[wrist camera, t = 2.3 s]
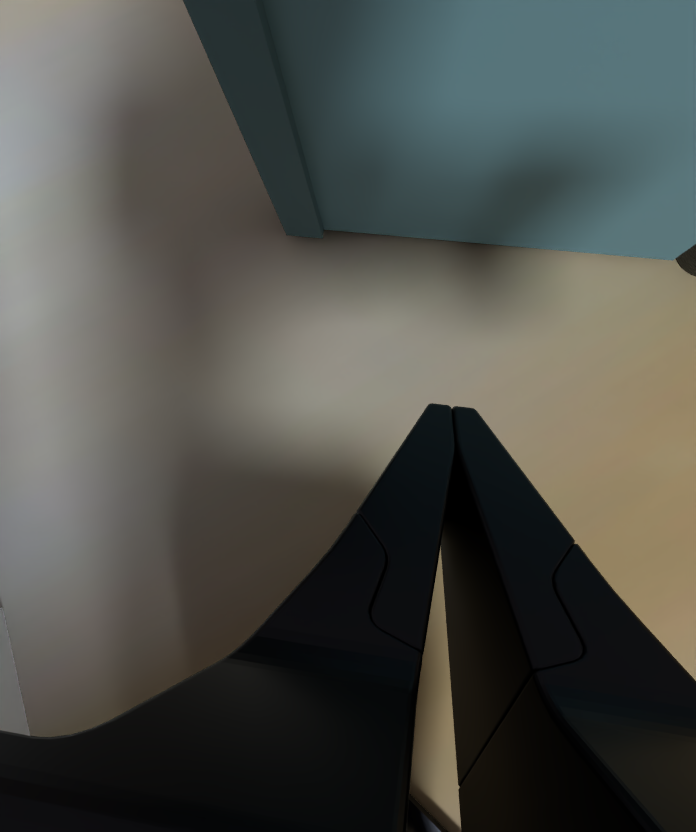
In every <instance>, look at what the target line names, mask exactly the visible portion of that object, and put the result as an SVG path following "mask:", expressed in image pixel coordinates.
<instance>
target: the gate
mask: <svg viewBox="0 0 696 832" xmlns="http://www.w3.org/2000/svg"><path fill="white" fill-rule="evenodd" d="M183 1H184V4H185V6H186V8H187V10H188V13H189V15H190V17H191V19H192V22H193V24H194V26H195V29H196V31H197V33H198V35H199V38H200V40H201V42H202V44H203V47H204V49H205V51H206V53H207V56H208V58H209V60H210V63H211V65H212V67H213V69H214V72H215V74H216V76H217V78H218V81H219V83H220V85H221V87H222V90H223V92H224V94H225V97H226V99H227V101H228V103H229V106H230V108H231V110H232V112H233V115H234V117H235V119H236V121H237V124H238V126H239V128H240V131H241V133H242V135H243V137H244V140H245V142H246V144H247V146H248V149H249V151H250V153H251V156H252V158H253V160H254V162H255V165H256V167H257V169H258V171H259V174H260V176H261V178H262V180H263V183H264V185H265V187H266V190H267V192H268V194H269V196H270V199H271V201H272V203H273V205H274V208H275V210H276V212H277V214H278V217H279V219H280V221H281V224H282V226H283V228H284V230H285V233H286V235H291V236H302V237H313V238H323V233H324V230H335V231H346V232H358V233H369V234H380V235H392V236H403V237H414V238H426V239H437V240H448V241H459V242H471V243H482V244H493V245H505V246H516V247H527V248H539V249H550V250H561V251H573V252H584V253H595V254H607V255H618V256H629V257H641V258H652V259H663V260H674V259H675V258H677V257H678V256H679V255H681V254H682V253H684V252H685V251H687V250H688V249H689V248H691V247H692V246H694V245H695V244H696V0H183Z"/></svg>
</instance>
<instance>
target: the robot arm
mask: <svg viewBox="0 0 696 832" xmlns="http://www.w3.org/2000/svg"><path fill="white" fill-rule="evenodd" d="M574 543H575V540H574V539H573V537H572V536H571V535H570V534H569V532H568V531H567V530H566V528H565V527H564V526H563V524H562V523H561V522H560V520H559V519H558V518H557V516H556V515H555V514H554V512H553V511H552V510H551V508H550V507H549V506H548V504H547V503H546V502H545V500H544V499H543V498H542V497H541V495H540V494H539V493H538V491H537V490H536V489H535V487H534V486H533V485H532V483H531V482H530V481H529V479H528V478H527V477H526V475H525V474H524V473H523V471H522V470H521V469H520V467H519V466H518V465H517V463H516V462H515V461H514V460H513V458H512V457H511V456H510V454H509V453H508V452H507V450H506V449H505V448H504V446H503V445H502V444H501V442H500V441H499V440H498V438H497V437H496V436H495V434H494V433H493V432H492V430H491V429H490V428H489V426H488V425H487V424H486V423H485V421H484V420H483V419H482V417H481V416H480V415H479V413H478V412H477V411H476V410H475V409H473V408H467V407H458V406H455V407H453V408H452V409H451V407H450V406H448V405H441V404H433V403H432V404H429V405H428V406H427V407H426V409H425V410H424V412H423V413H422V415H421V416H420V418H419V419H418V421H417V422H416V424H415V425H414V427H413V428H412V430H411V431H410V433H409V434H408V436H407V437H406V439H405V440H404V442H403V443H402V445H401V446H400V448H399V449H398V451H397V452H396V454H395V455H394V456H393V458H392V459H391V461H390V462H389V464H388V465H387V467H386V468H385V470H384V471H383V473H382V474H381V476H380V477H379V479H378V480H377V482H376V483H375V485H374V486H373V488H372V489H371V491H370V492H369V494H368V495H367V497H366V498H365V500H364V501H363V503H362V504H361V506H360V507H359V508H358V510H357V513H355V514H354V515H353V517H352V518H351V520H350V521H349V523H348V524H347V526H346V527H345V529H344V530H343V531H342V533H341V534H340V536H339V537H338V538H337V540H336V541H335V542H334V544H333V545H332V546H331V548H330V549H329V550H328V552H327V553H326V554H325V555H324V556H323V557H322V559H321V560H320V561H319V562H318V563H317V564H316V566H315V567H314V568H313V569H312V570H311V571H310V573H309V574H308V575H307V576H306V577H305V578H304V579H303V580H302V581H301V582H300V583H299V585H298V586H297V587H296V588H295V589H294V590H293V591H292V592H291V593H290V594H289V595H288V597H287V598H286V599H285V600H284V601H283V602H282V603H281V604H280V605H279V606H278V607H277V609H276V610H275V611H274V612H273V613H272V614H271V615H270V616H269V617H268V618H267V619H266V621H265V622H264V623H263V624H262V625H261V626H260V627H259V628H258V629H257V630H256V631H255V632H254V633H253V634H252V635H251V636H250V637H249V638H248V639H247V640H246V641H245V642H244V643H243V644H242V645H241V646H239V647H238V648H237V649H236V650H235V651H233V652H232V653H231V654H229V655H228V656H226V657H225V658H223V659H222V660H220V661H218V662H217V663H215V664H213V665H211V666H209V667H207V668H206V669H204V670H202V671H200V672H198V673H196V674H194V675H193V676H191V677H189V678H187V679H185V680H183V681H182V682H180V683H178V684H176V685H174V686H172V687H170V688H169V689H167V690H165V691H163V692H161V693H159V694H158V695H156V696H154V697H152V698H150V699H148V700H147V701H145V702H143V703H141V704H139V705H137V706H135V707H134V708H132V709H130V710H128V711H126V712H124V713H123V714H121V715H119V716H117V717H115V718H113V719H112V720H110V721H107V722H105V723H103V724H101V725H98V726H96V727H94V728H92V729H88V730H85V731H82V732H78V733H75V734H71V735H64V736H57V737H35V736H28V735H23V734H18V733H13V732H7V731H2V730H0V832H447V831H446V830H445V829H444V827H443V826H442V825H441V824H440V823H439V822H438V821H437V820H436V819H435V818H434V817H433V816H432V815H431V814H430V813H429V812H428V811H427V810H426V809H425V808H424V807H423V806H422V805H421V804H420V803H419V802H418V801H417V800H416V799H415V798H414V797H413V796H412V795H411V794H410V793H409V792H410V779H411V766H412V754H413V741H414V728H415V716H416V704H417V694H418V686H419V679H420V672H421V665H422V656H423V652H424V646H425V640H426V633H427V627H428V621H429V615H430V608H431V602H432V596H433V589H434V583H435V577H436V571H437V564H438V558H439V552H440V545H441V556H442V569H443V583H444V597H445V610H446V624H447V638H448V651H449V665H450V679H451V692H452V706H453V719H454V733H455V747H456V760H457V774H458V785H459V786H460V788H459V803H460V817H461V830H462V832H696V681H695V680H694V678H693V677H692V676H691V675H690V674H689V673H688V672H687V671H686V670H685V669H684V668H683V666H682V665H681V664H680V663H679V662H678V661H677V660H676V659H675V658H674V657H673V656H672V654H671V653H670V652H669V651H668V650H667V649H666V648H665V647H664V646H663V645H662V644H661V642H660V641H659V640H658V639H657V638H656V637H655V636H654V635H653V634H652V633H651V632H650V630H649V629H648V628H647V627H646V626H645V625H644V624H643V623H642V622H641V621H640V619H639V618H638V617H637V616H636V615H635V614H634V613H633V611H632V610H631V609H630V608H629V607H628V606H627V605H626V603H625V602H624V601H623V600H622V599H621V598H620V597H619V595H618V594H617V593H616V592H615V591H614V590H613V589H612V587H611V586H610V585H609V584H608V582H607V581H606V580H605V579H604V577H603V576H602V575H601V574H600V572H599V571H598V570H597V568H596V567H595V566H594V565H593V563H592V562H591V561H590V560H589V558H588V557H587V556H586V554H585V553H584V552H583V550H582V549H581V548H580V546H579V545H578V544H574Z"/></svg>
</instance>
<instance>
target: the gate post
mask: <svg viewBox="0 0 696 832" xmlns="http://www.w3.org/2000/svg"><path fill="white" fill-rule="evenodd" d="M676 259H677V261H678V263H679V265H680V266H681V267H682V268H683V269H684V270H685V271H686V272H688V273H689V274H691V275H693V276H696V244H695V245H694V246H692V247H691V248H689V249H688V250H687V251H685V252H684V253H682V254H681V255H679V256H678V257H677V258H676Z"/></svg>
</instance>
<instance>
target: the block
mask: <svg viewBox="0 0 696 832" xmlns="http://www.w3.org/2000/svg"><path fill="white" fill-rule="evenodd" d="M0 730H2V731H7V732H13V733H18V734H23V735H28V736H30V732H29V727H28V722H27V718H26V713H25V708H24V704H23V699H22V694H21V690H20V685H19V680H18V676H17V671H16V666H15V662H14V657H13V652H12V648H11V643H10V638H9V634H8V629H7V624H6V620H5V615H4V611H3V607H2V608H0Z"/></svg>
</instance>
